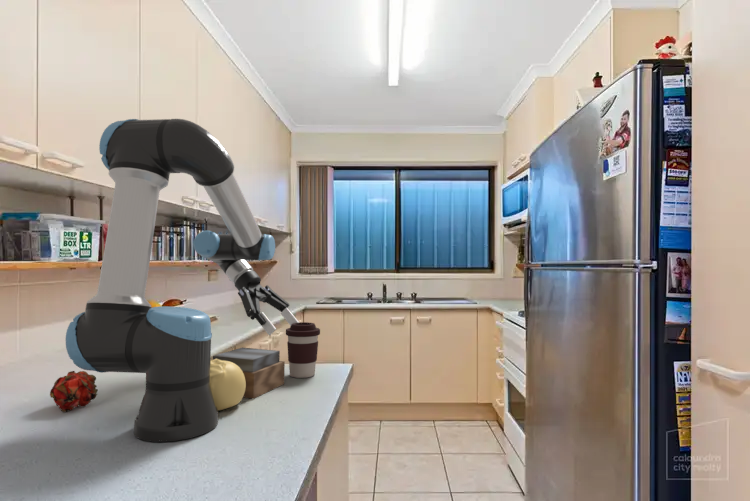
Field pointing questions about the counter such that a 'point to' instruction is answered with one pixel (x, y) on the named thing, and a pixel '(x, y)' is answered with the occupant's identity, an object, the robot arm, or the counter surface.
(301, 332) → the coffee cup
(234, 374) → the pale yellow round lump
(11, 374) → the counter surface
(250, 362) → the gray topped wooden block
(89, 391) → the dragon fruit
